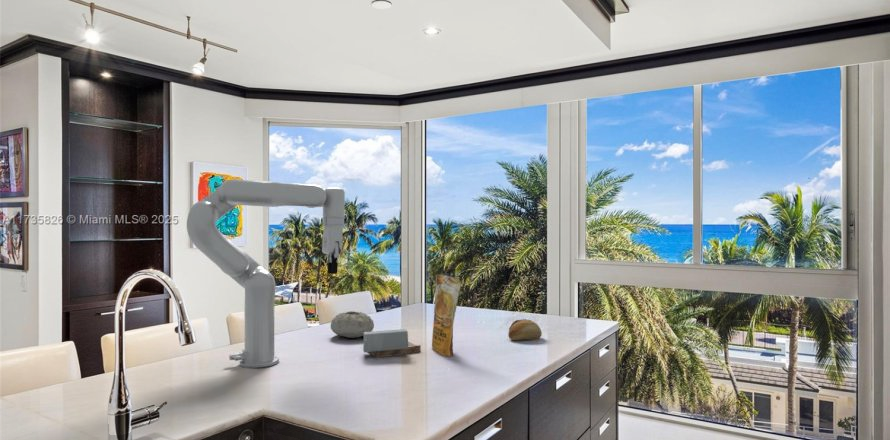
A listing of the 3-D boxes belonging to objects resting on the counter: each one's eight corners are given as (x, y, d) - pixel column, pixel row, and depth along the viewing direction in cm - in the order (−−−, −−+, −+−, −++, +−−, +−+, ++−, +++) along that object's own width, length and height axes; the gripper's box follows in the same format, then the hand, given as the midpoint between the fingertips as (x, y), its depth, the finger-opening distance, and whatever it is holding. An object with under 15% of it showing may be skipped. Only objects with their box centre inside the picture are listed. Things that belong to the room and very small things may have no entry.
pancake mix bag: (443, 345, 203) (443, 273, 203) (462, 356, 185) (463, 278, 186) (426, 346, 201) (427, 273, 201) (445, 358, 183) (445, 278, 183)
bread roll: (502, 338, 215) (502, 319, 215) (532, 335, 221) (532, 316, 221) (515, 343, 206) (515, 323, 206) (546, 340, 213) (546, 320, 213)
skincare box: (363, 352, 182) (408, 351, 184) (363, 331, 183) (408, 330, 185) (363, 349, 191) (407, 348, 193) (363, 329, 191) (407, 328, 193)
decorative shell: (382, 335, 220) (382, 311, 221) (353, 343, 205) (354, 318, 205) (350, 330, 230) (350, 307, 230) (321, 338, 215) (321, 313, 215)
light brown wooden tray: (378, 357, 184) (378, 351, 184) (363, 349, 195) (364, 343, 195) (420, 351, 193) (420, 345, 193) (404, 344, 204) (404, 338, 204)
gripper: (317, 222, 192) (316, 272, 191) (329, 222, 179) (327, 276, 178) (337, 222, 195) (336, 271, 195) (350, 222, 182) (349, 275, 182)
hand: (332, 273), depth 187 cm, fingers closed
